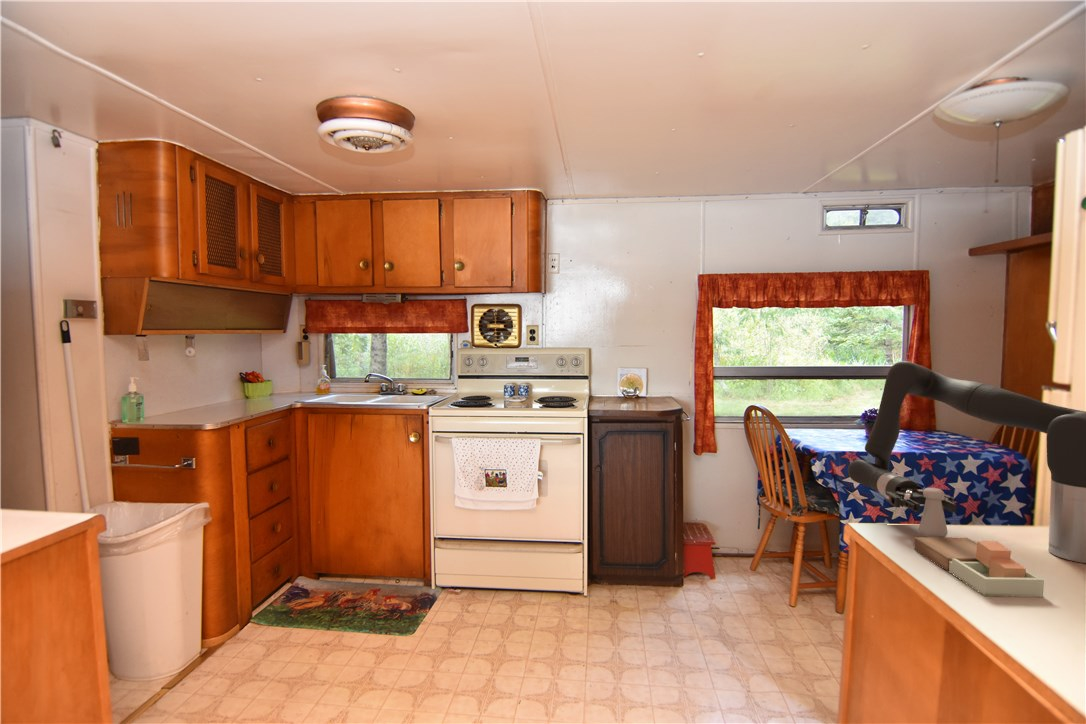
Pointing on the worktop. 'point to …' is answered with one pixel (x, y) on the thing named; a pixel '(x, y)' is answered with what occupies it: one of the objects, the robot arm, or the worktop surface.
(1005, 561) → the peach cube
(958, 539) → the board
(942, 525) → the salt shaker
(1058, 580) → the worktop surface
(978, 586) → the tray
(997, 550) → the light orange cube
